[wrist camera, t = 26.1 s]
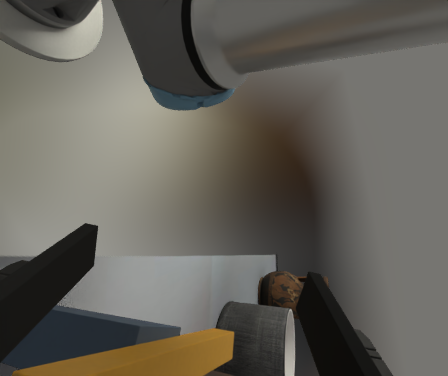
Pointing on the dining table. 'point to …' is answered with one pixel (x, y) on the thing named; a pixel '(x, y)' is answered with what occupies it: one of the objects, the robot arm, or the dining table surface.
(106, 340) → the tall block
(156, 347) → the yellow bar
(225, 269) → the dining table surface
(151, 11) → the robot arm
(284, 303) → the vase
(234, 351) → the planter
